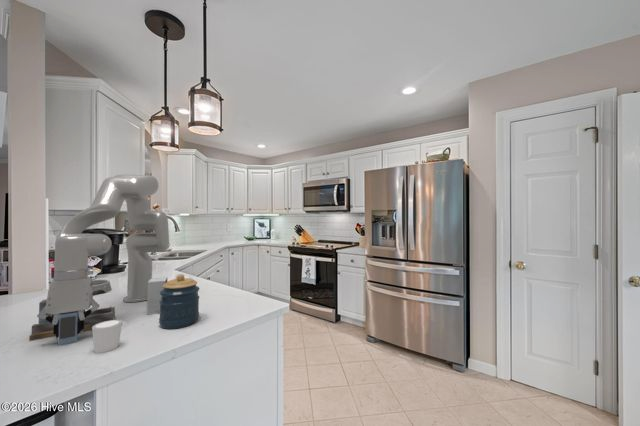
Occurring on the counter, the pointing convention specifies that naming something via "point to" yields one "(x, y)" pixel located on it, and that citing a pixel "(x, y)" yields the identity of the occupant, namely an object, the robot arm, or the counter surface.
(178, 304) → the canister
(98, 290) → the dog bowl
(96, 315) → the rail
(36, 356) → the counter surface
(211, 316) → the counter surface
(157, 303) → the small box
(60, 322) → the blue-grey block
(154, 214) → the robot arm
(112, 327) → the white cup
